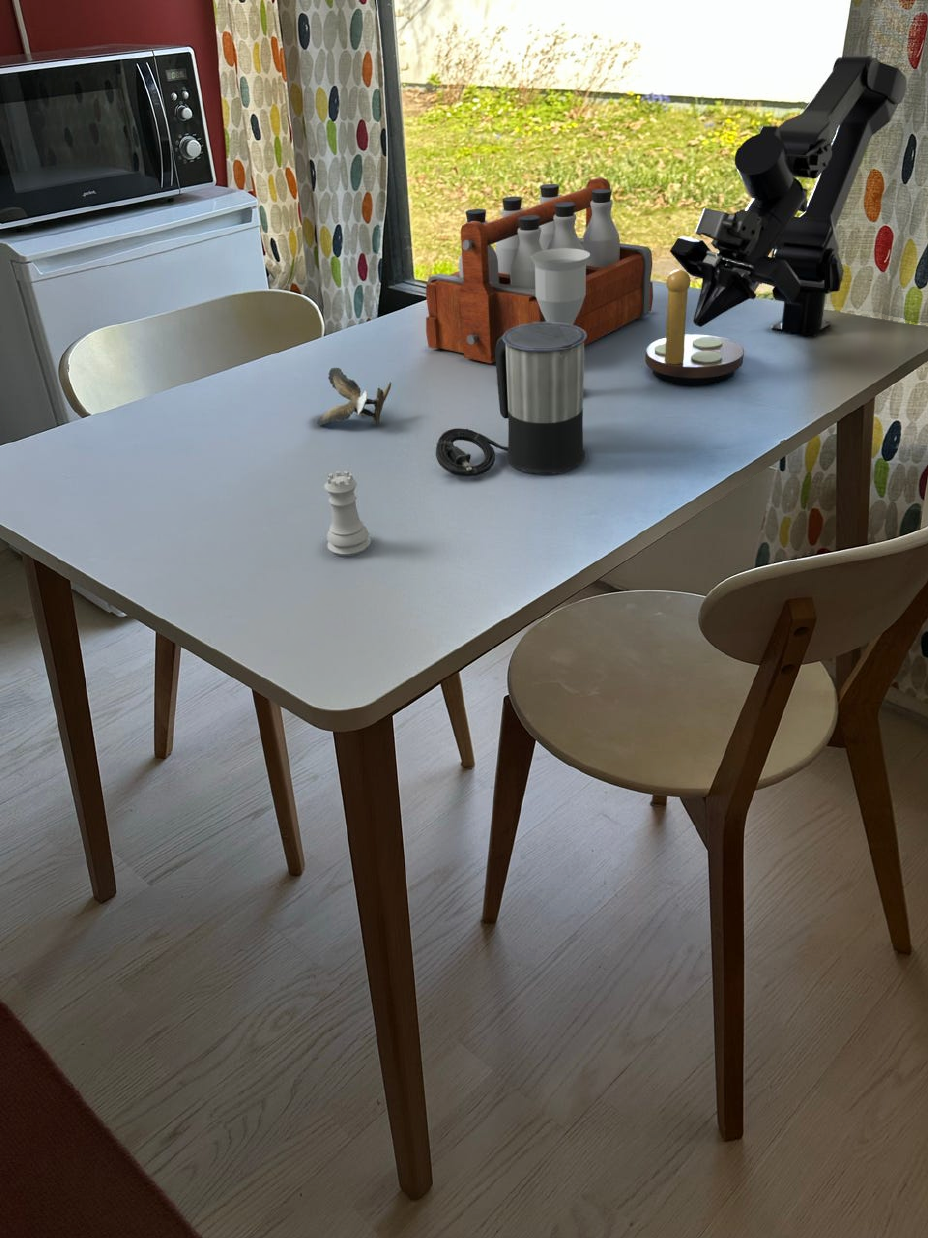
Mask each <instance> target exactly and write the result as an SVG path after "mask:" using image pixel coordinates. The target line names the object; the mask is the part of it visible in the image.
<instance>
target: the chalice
mask: <svg viewBox="0 0 928 1238" xmlns="http://www.w3.org/2000/svg"><path fill="white" fill-rule="evenodd" d="M589 256H590V253H589V252H587V251H585V250H580V249H571V248H559V249H549V250H543V251H539V252H536V253H534V254H532V255H531V259H532V261H533V263H534V264H535V290H536V298H537V301H538V304H539V307H540V309H541V312H542V314H543V316H544V318H545V320H546V321H547V322H558V323H559V322H560V323H566V324H571V325H573V324H574V321H575V319H576V317H577V315H578V313H579V311H580V309H581V306H582V303H583V300H584V297H585V295H586V262H587V260H588V258H589Z"/></svg>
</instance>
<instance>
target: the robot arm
mask: <svg viewBox="0 0 928 1238" xmlns="http://www.w3.org/2000/svg"><path fill="white" fill-rule="evenodd" d="M906 90H907V77H906V75H905V74H904V73H903V72H902V71H901V70H900V68H899V66H893V65H890V64H887V63H885V62H881V61H880V60H879V59H878V58H877V57H873V56H872V55H863V54H862V55H861V54H860V55H852V54H851V55H850V54H849V55H847V54H846V55H845V54H844V55H843V56H839V57H837V58H836V60H835V61H834V64H833V67H832V71H831V73H830V74H829V75H828V77H827V79H826V80H825V81H824V82H823V84H822V85H821V87H819V89H818V90H817V92H816V93H815V95H814V96H813V98H812V99H811V101H810V102H809V103H808V105H807V106H806V108H805V109H804V110H803V111H802V112H801V113H800V114H798V115H796V116H793V117H791V118H788V119H786V120H784V121H783V122H782V123H781V124H780V125H778V126H776V125H775V126H773V125H762V127H761V129H760V131H759V133H758V134H755V135H752V136H751V137H749V138H748V139H746V140H745V141H744V142H743V143H741V145H740V146H739V147H738V148H737V149H736V151H735V155H734V165H735V168H736V170H737V172H738V174H739V177H740V180H741V181H742V183H743V185H744V188H745V191H746V192H747V194H748V195H749V197H750V198H752V199H751V201H750V202H749V204H748V206H747V207H746V208H745V209H739V210H738V211H737V210H736V211H735V212H733V213H729V212H726V211H721V210H716V209H712V208H706V207H704V208H703V210H702V213H701V215H700V218H699V221H698V224H697V226H696V229H695V235H698V236H705V237H707V238H710V239H711V240H712V241H711V242H710V245H712V247H713V248H714V249H715V250H718V252H715V251H712V250H711V248H709V246H708V245H707V244H706V242H705V241H704V240H703V239H698V238H694V237H691V236H687V235H684V236H680V237H678V238H677V239H676V240H675V242H674V243H673V245H672V246H671V248H670V249H669V253H670V254H671V255H672V256H673V258H674V259H675V260H676V261H677V262H678V263H679V265H680V266H681V267H682V268H683V269H684V271H685V272H687V273H688V275H689V276H692V277H695V278H699V279H702V281H701V288H700V293H699V296H698V301H697V304H696V308H695V312H694V316H693V320H692V323H693V324H694V325H695V326H697V327H700V328H702V327H703V326H705V325H707V324H709V323H710V322H711V321H713V320H715V319H716V318H718V317H719V316H721V315H723V314H724V313H726V312H728V311H729V310H731V309H732V308H734V307H736V306H738V305H740V304H742V303H744V302H746V301H748V300H755V299H756V297H757V293H755V292H756V290H757V289H758V287H759V286H760V285H762V284H764V285H768V286H772V287H773V288H772V290H771V291H772V297H773V299H774V300H776V301H780V302H783V306H782V316H781V320H780V321H779V322H776V323H775V324H774V325H772V326H771V330H772V331H775V332H780V333H784V334H785V333H786V334H791V335H797V336H800V337H801V336H802V337H806V338H807V337H808V338H813V337H815V336H817V335H818V334H820V333H822V332H823V331H825V330H827V329H828V328H830V327H831V326H832V322H831V321H828V320H827V321H826V320H823V319H824V313H825V312H824V311H825V303H826V295H829V294H830V293H833V292H839V291H841V284H842V282H843V278H844V277H843V276H844V272H845V271H844V266H843V264H842V261H841V258H840V253H839V250H840V245H839V241H838V236H837V231H836V227H837V224H838V222H839V219H840V217H841V214H842V211H843V209H844V207H845V204H846V203H847V199H848V197H849V195H850V192H851V189H852V187H853V184H854V182H855V179H856V177H857V174H858V171H859V169H860V167H861V164H862V162H863V159H864V157H865V154H866V152H867V150H868V147H869V144H870V142H871V139H872V137H873V136H874V135H875V134H876V133H877V132H879V131H880V130H881V129H883V128H884V127H886V125H887V124H889V123H890V122H891V121H892V118H893V116H894V114H895V112H896V110H897V108H898V106H899V105H900V104H902V102H903V100H904V97H905V95H906ZM835 133H836V134H835ZM834 134H835V135H834ZM833 136H834V137H833ZM832 138H833V140H832ZM831 141H832V142H831ZM799 179H813V180H815V179H817V180H816V182H815V185H814V187H813V190H812V193H811V195H810V197H809V200H808V189H807V188H805V187H804V186H803V184H802V183H801V181H800V180H799ZM798 212H802V214H801V215H800V216H796V215H797V213H798ZM770 254H771V256H770Z"/></svg>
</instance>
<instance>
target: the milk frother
mask: <svg viewBox="0 0 928 1238" xmlns="http://www.w3.org/2000/svg"><path fill="white" fill-rule="evenodd" d="M586 338H587V334H586V332H585V331H584V330H583V329H581V328H580V327H577V326H574V325H571V324H566V323H560V322H559V323H558V322H533V323H529V324H524V325H519V326H516V327H514V328H511V329H509V330H508V331H506V332H505V333H504V335H503V336H501V337H500V338H499V339H498V341H497V344H496V349H495V359H496V361H495V370H496V380H497V394H498V395H497V396H498V406H499V414H500V415H501V417H502V418H503V419H505V420H506V419H508V420H507V422H508V425H507V426H508V429H507V430H508V433H507V435H508V439H507V441H508V442H507V443H508V444H507V446H504V445H501V444H499V443H497V442H495V441H494V440H492V439H491V438H489V437H488V436H486V435H483V434H482V433H479V432H477V431H474V430H473V429H469V428H461V427H459V428H456V427H455V428H451V429H448V430H446V431H445V432H443V433H442V434H441V435H440V436H439V438H438V440H437V442H436V443H435V444H436V446H435V458H436V461H437V463H438V465H439V466H440V467H441V468H442V469H443V470H445V471H446V472H448V473H450V474H452V475H455V476H457V477H458V476H459V477H476V476H480V475H483V474H485V473H488V472H489V471H490V470H492V467H493V466H494V464H495V461H496V453H495V450H494V448H498V449H500V450H502V451H506V452H507V453H506V457H505V458H506V462H507V463H508V464H509V465H510V466H511V467H512V468H514V469H516V470H518V471H521V472H525V473H529V474H530V473H531V474H535V475H536V474H537V475H552V474H553V475H554V474H559V473H564V472H568V471H570V470H573V469H576V468H577V467H579V466H580V465H582V463H583V462H584V461H585V458H586V450H584V433H583V432H584V427H583V423H584V422H583V420H584V419H583V418H584V414H583V413H584V408H583V405H584V379H585V377H584V375H585V346H584V341H585V340H586ZM458 441H464V442H468V443H471V444H474V445H476V446H477V447H478V448H480V449H481V450H482V452H483V455H484V459H483V460H482V461H481V462H480V463H478V464H476V465H472V466H471V464H470V462H471V461H470V460H471V459H472V456H471V455H472V454H470V453H466V452H465V451H464V450H462V448H460V447H459V446H456V445H454V442H458ZM493 447H494V448H493Z"/></svg>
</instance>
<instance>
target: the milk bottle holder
mask: <svg viewBox="0 0 928 1238" xmlns="http://www.w3.org/2000/svg"><path fill="white" fill-rule="evenodd" d="M539 189H540V196H539V198H538V199H539V204H536V205H534V206H531V207H528V208H526V209H524V208H523V207H522V202H523V197H521V196H507V197H503V198H502V199H501V200H502V206H503V208H502V209H501V215H502V217H499V218H497V219H495V220H492V221H488V220H487V219H486V216H487V209H485V208H472V209H467V210H466V211H465V216H466V217H465V218H466V221H465V223H463V225H461V228H460V243H461V244H460V245H461V254H460V256H459V261H458V269H459V270H458V271H456V272H453V273H451V274H445V273H436V274H434V275H431V276H429V277H428V279H427V283H426V286H425V299H426V305H427V313H428V316H426V317H425V334H426V340H427V345H428V346H427V347H428V348H431V349H436V350H437V349H441V350H445V351H451V352H454V353H459V354H463V358H464V359H465V358H466V359H470V360H472V361H473V360H474V361H477V362H478V361H479V362H483V363H486V364H493V363H496V359H495V349H496V344H497V341H498V339H499V338H500V337H501V336H503V335H504V333H505V332H506V331H508V330H509V329H511V328H514V327H516V326H519V325H524V324H529V323H533V322H547V321H546V320H545V318H544V316H543V314H542V312H541V309H540V307H539V304H538V301H537V298H536V290H535V264H534V263H533V261H532V259H531V255H532V254H534V253H536V252H539V251H543V250H549V249H559V248H571V249H580V250H585V251H587V252H589V253H590V256H589V258H588V260H587V262H586V295H585V297H584V300H583V303H582V306H581V309H580V311H579V313H578V315H577V317H576V319H575V321H574V324H573V325H574V326H577V327H580V328H581V329H583V330H584V331H585V332H586V334H587V338H586V340H585V341H584V347H585V346H587V345H588V344H591V343H593V342H594V341H597V340H598V339H600V338H602V337H604V336H606V335H608V334H609V333H612V332H613V331H615V330H617V329H619V328H621V327H624V326H625V325H627V324H628V323H630V322H632V321H634V320H640V319H643V318H644V317H646V316H648V315H649V314H650V312H651V311H652V308H653V300H654V288H653V287H654V286H653V281H652V271H653V264H654V263H653V255H652V251H651V249H650V247H648V246H646V245H639V244H638V245H636V244H631V243H630V244H629V243H622V242H621V241H620V240H621V239H620V234H619V233H620V232H619V230H618V229H617V227H616V225H615V222H614V220H613V217H612V213H611V212H612V207H613V204H614V203H613V200H611V198H612V189H611V184H610V182H609V180H608V179H606V178H605V177H595V178H592V179H590V180H589V181H587V183H586V187H585V188H581V189H579V190H576V191H573V192H570V193H567V194H564V195H562V196H561V195H560V194H559V192H560V191H559V190H560V184H556V183H546V184H542V185H540V186H539ZM583 210H585V230H584V233H583V235H582V237H579V236H578V234H577V232H576V227H575V226H576V220H577V214H576V213H579V212H580V211H583ZM494 244H495V249H494V247H493V245H494Z"/></svg>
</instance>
